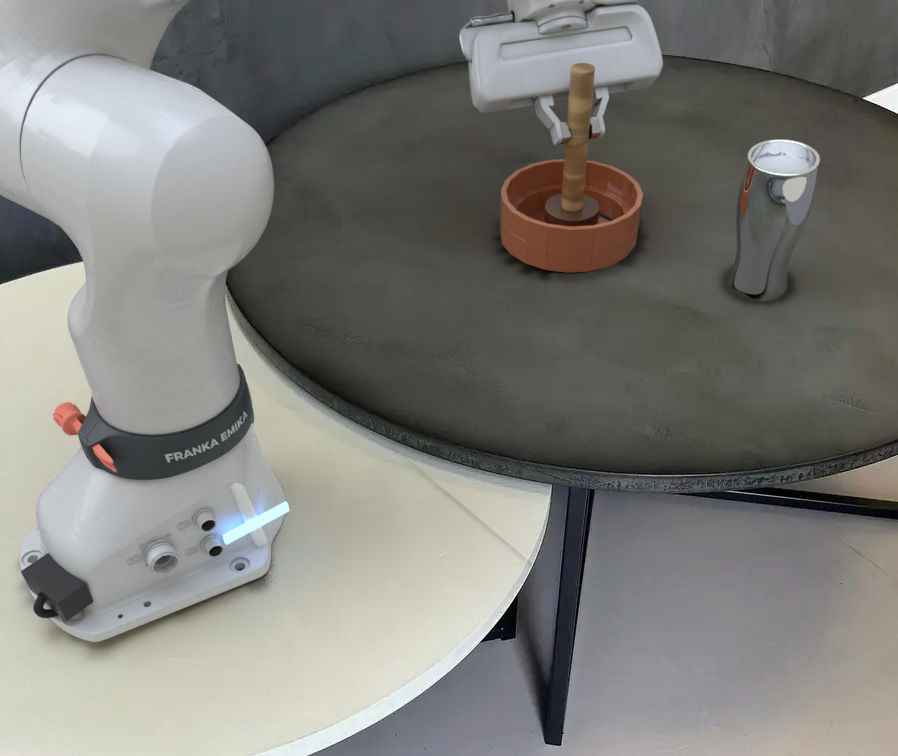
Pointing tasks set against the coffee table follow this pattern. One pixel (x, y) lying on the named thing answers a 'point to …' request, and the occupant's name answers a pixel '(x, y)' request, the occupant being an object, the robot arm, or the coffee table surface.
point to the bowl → (569, 244)
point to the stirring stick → (576, 156)
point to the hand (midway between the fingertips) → (580, 139)
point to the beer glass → (772, 215)
